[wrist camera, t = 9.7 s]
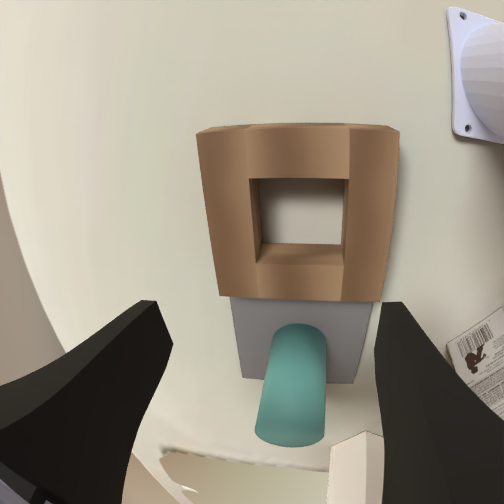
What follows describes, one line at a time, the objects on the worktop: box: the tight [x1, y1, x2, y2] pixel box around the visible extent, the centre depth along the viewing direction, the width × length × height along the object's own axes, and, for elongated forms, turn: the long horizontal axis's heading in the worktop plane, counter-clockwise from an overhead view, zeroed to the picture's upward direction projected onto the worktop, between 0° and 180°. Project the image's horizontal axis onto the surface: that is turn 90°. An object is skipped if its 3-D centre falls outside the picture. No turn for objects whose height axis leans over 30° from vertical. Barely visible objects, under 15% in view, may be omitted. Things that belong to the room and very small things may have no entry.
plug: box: [255, 323, 326, 447], centre depth 19 cm, size 4×4×8 cm
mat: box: [230, 297, 372, 384], centre depth 23 cm, size 10×10×1 cm
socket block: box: [196, 123, 400, 302], centre depth 17 cm, size 10×10×2 cm
